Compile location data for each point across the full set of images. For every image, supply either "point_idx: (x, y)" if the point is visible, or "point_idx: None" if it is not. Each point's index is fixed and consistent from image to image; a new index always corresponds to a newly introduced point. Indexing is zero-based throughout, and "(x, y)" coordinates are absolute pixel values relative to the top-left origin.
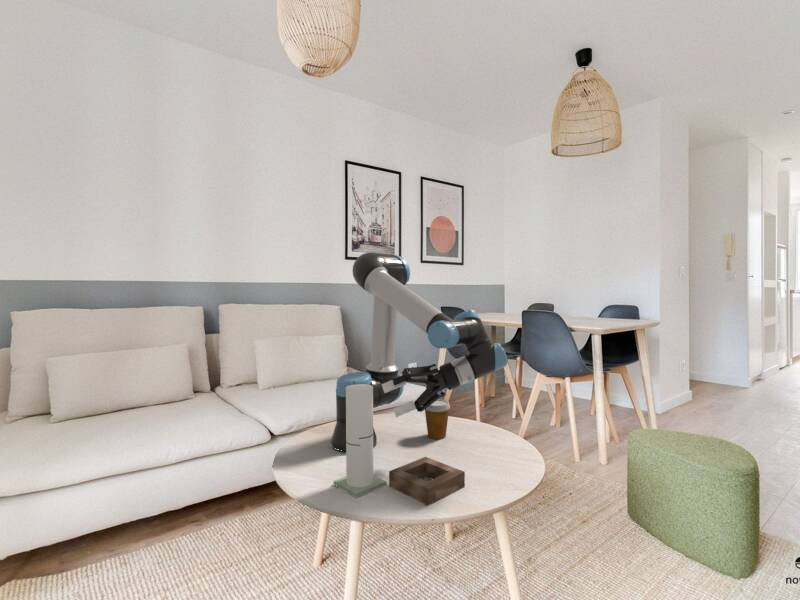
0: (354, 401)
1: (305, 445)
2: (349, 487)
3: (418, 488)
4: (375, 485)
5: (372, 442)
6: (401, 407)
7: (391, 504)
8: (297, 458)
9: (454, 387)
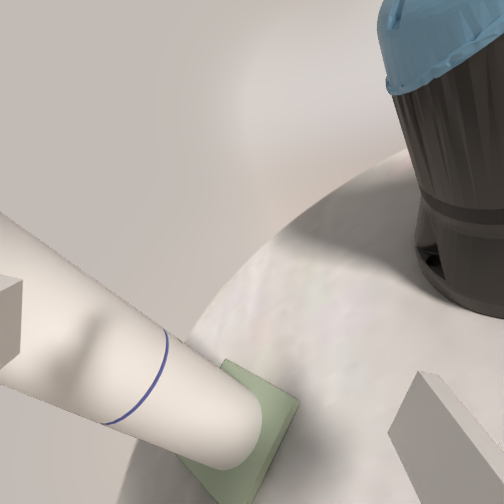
0: None
1: (408, 173)
2: None
3: None
4: (207, 488)
5: (131, 433)
6: (454, 457)
7: None
8: (330, 218)
9: None
